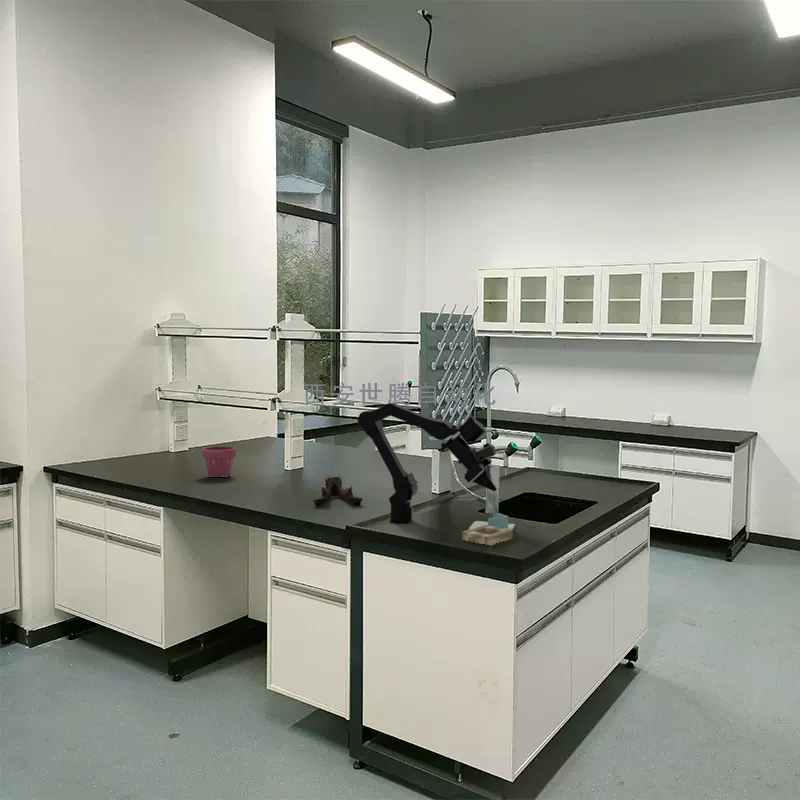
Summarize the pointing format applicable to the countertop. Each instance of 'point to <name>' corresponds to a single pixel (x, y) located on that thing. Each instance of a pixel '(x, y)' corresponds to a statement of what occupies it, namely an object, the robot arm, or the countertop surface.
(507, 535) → the wooden frame
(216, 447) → the plant pot
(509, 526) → the plate with teal chevron
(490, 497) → the silver metal cylinder
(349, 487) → the dark brown branching piece
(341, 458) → the countertop surface
